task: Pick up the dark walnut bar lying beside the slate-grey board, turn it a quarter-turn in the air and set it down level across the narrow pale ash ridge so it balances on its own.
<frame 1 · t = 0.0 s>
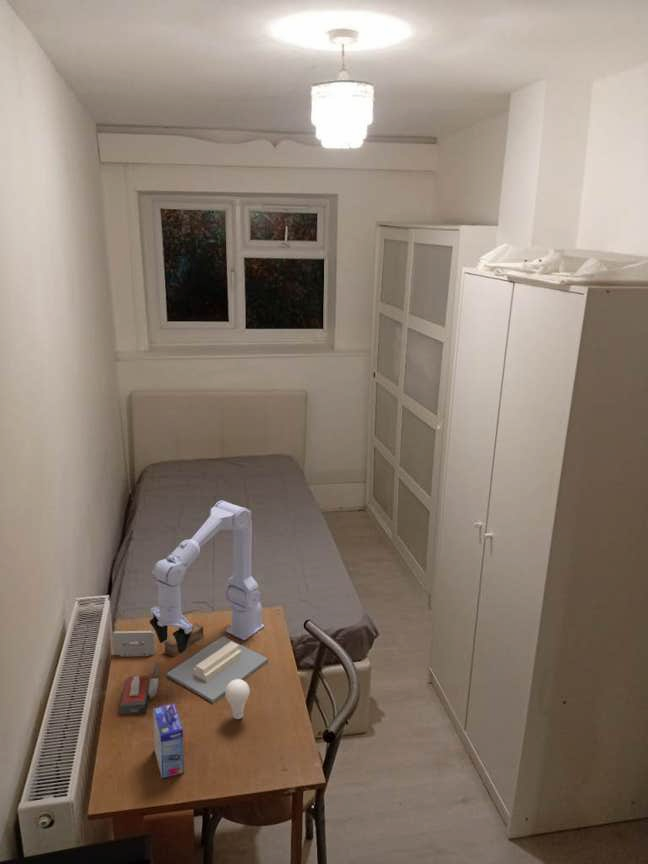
hand: (172, 646, 180), 10 cm above the table, tool pointing down, fingers open, 7 cm apart
ink cartridge box: (170, 761, 154), on the table
cassette: (135, 655, 193), on the table
lightbulb: (238, 718, 168), on the table
walnut bar: (184, 645, 197), on the table
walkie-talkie: (141, 692, 178), on the table
ridge stand: (218, 668, 187), on the table
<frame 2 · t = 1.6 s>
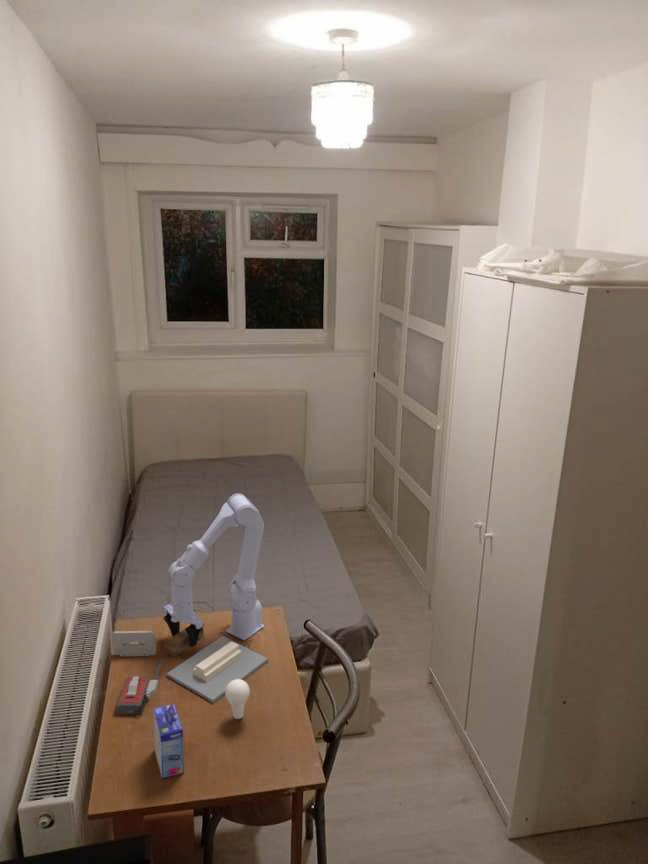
hand: (184, 640, 197), 1 cm above the table, tool pointing down, fingers open, 7 cm apart
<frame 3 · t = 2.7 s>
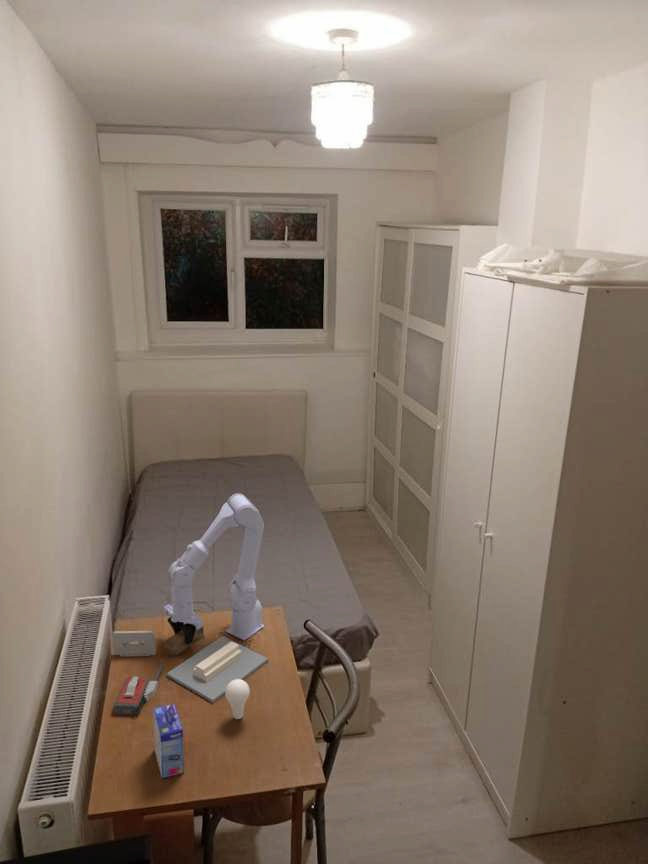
hand: (184, 640, 197), 1 cm above the table, tool pointing down, fingers closed on walnut bar, 3 cm apart
walnut bar: (184, 644, 197), on the table, touching gripper
everything else where it was.
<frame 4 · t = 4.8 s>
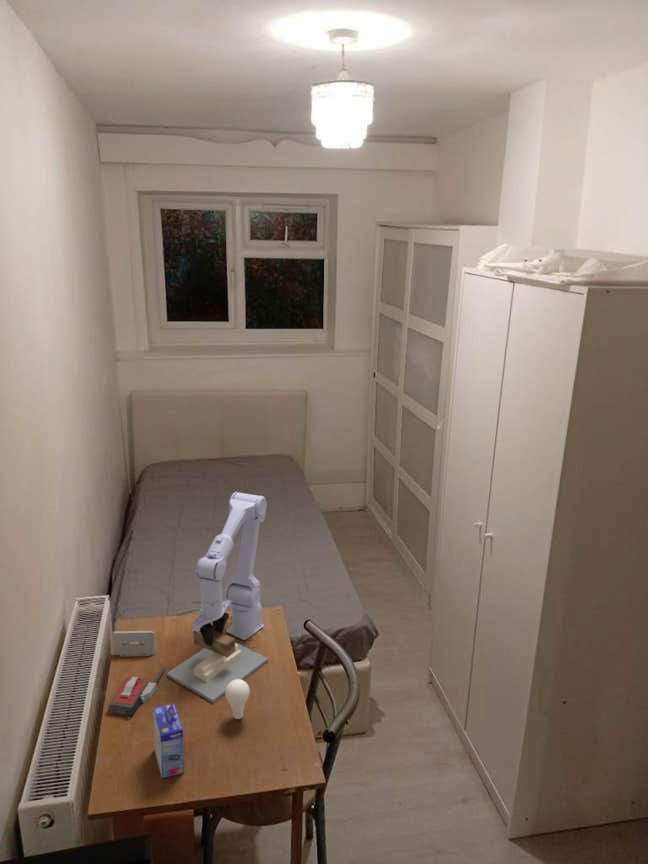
hand: (213, 640, 185), 8 cm above the table, tool pointing down, fingers closed on walnut bar, 3 cm apart
walnut bar: (214, 647, 186), point 6 cm above the table, touching gripper
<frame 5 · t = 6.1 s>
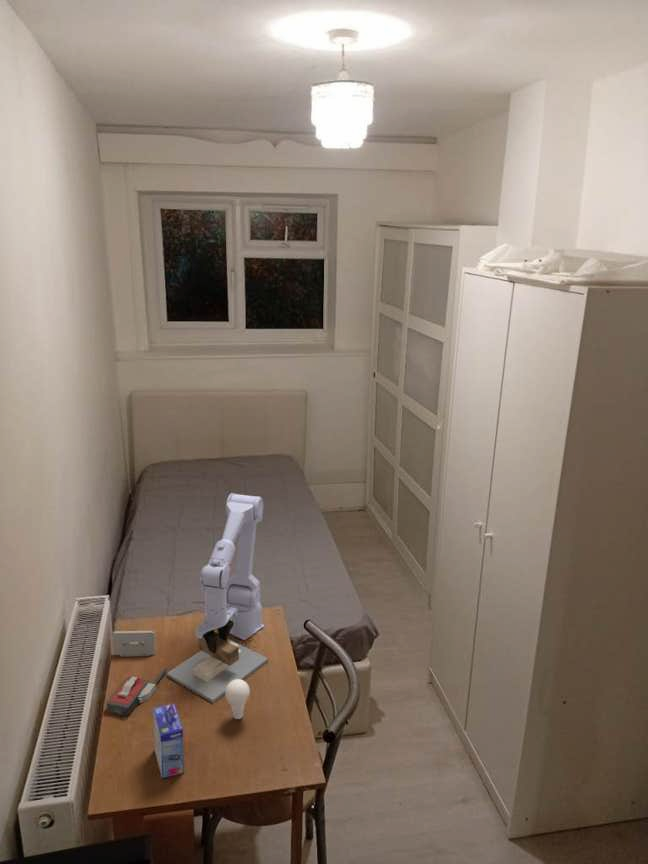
hand: (217, 647, 185), 7 cm above the table, tool pointing down, fingers closed on walnut bar, 3 cm apart
walnut bar: (218, 654, 185), point 5 cm above the table, touching gripper
when the fingers open (7 cm above the table, at t = 6.1 s): walnut bar stays where it is, resting on ridge stand.
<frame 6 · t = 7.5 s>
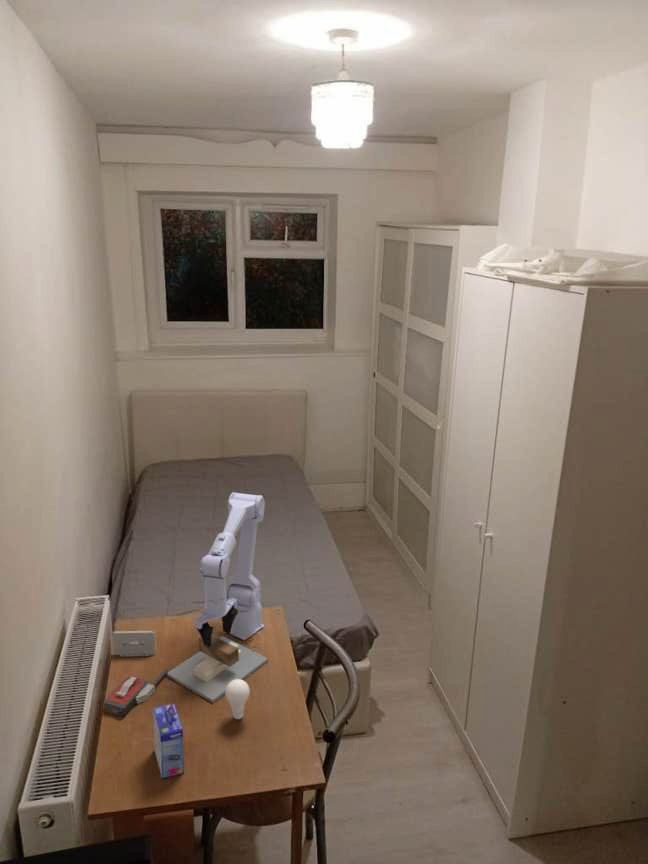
hand: (217, 638, 184), 10 cm above the table, tool pointing down, fingers open, 7 cm apart
walnut bar: (218, 655, 185), point 4 cm above the table, touching ridge stand
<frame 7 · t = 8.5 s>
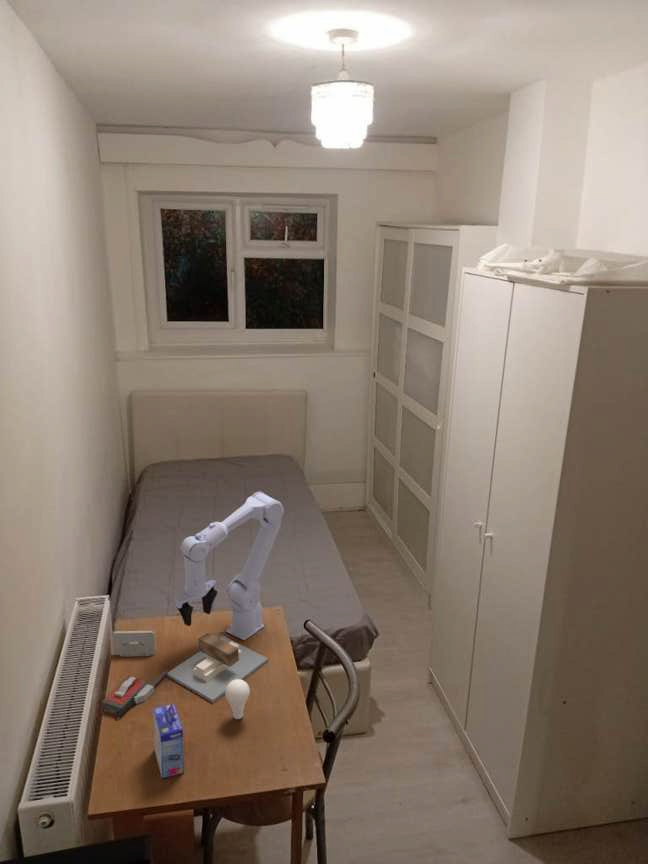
hand: (197, 618, 192), 10 cm above the table, tool pointing down, fingers open, 7 cm apart
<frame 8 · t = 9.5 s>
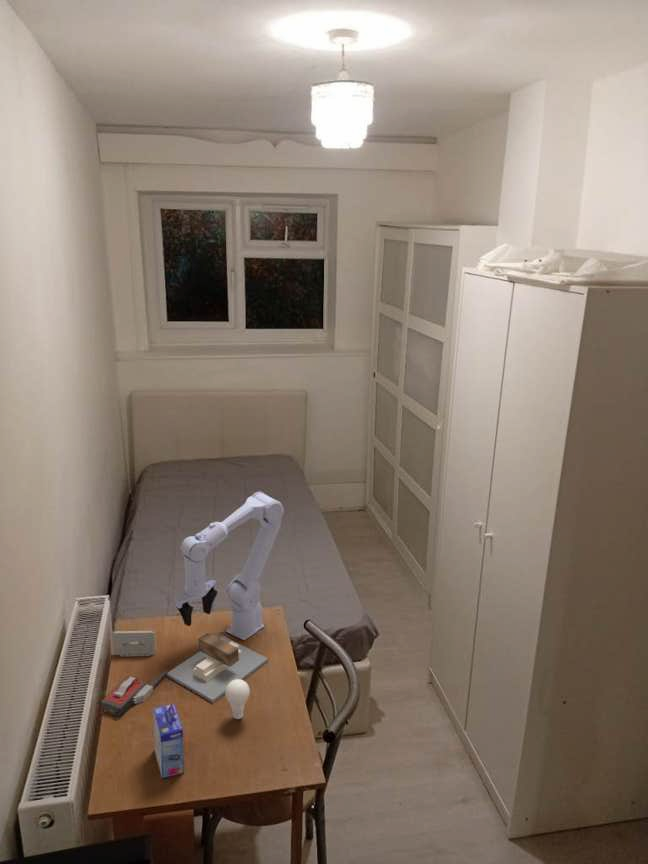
hand: (197, 618, 192), 10 cm above the table, tool pointing down, fingers open, 7 cm apart
at the end: walnut bar tilted 0°; walnut bar inside the target area on the ridge stand (0.3 cm from its centre), point 4.5 cm above the ridge stand's base; the gripper is holding nothing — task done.
